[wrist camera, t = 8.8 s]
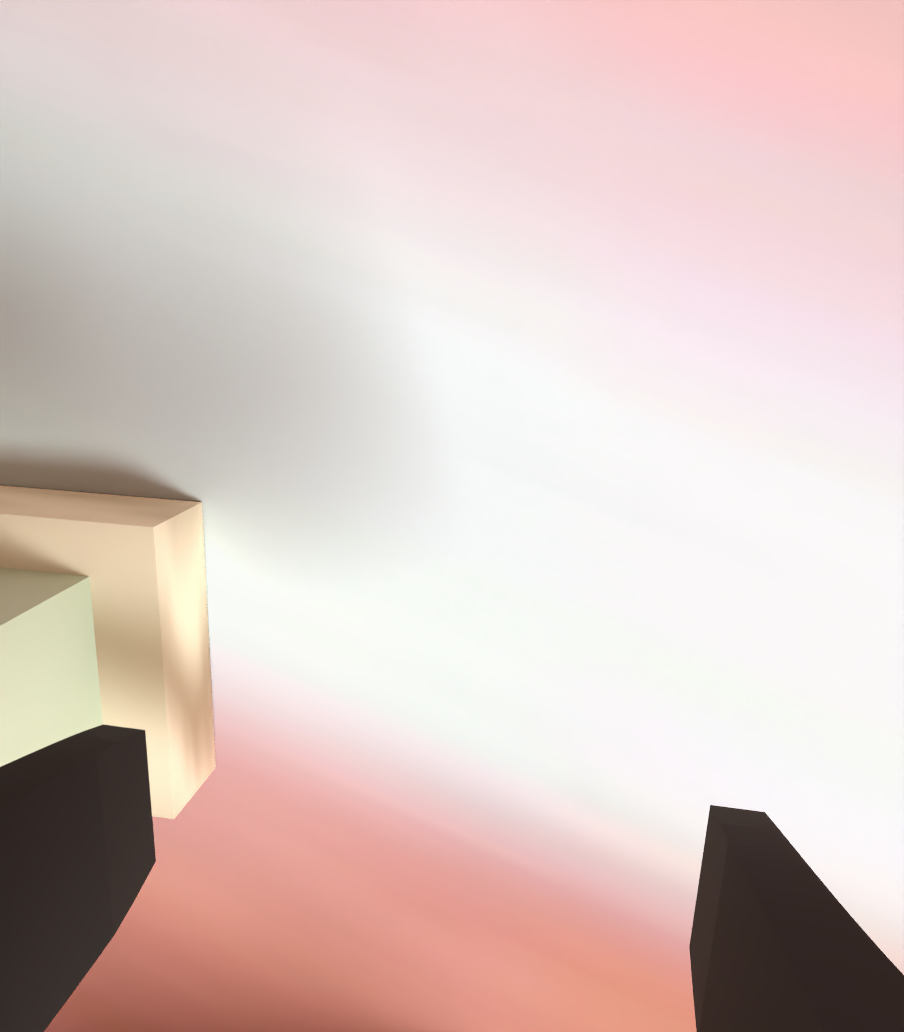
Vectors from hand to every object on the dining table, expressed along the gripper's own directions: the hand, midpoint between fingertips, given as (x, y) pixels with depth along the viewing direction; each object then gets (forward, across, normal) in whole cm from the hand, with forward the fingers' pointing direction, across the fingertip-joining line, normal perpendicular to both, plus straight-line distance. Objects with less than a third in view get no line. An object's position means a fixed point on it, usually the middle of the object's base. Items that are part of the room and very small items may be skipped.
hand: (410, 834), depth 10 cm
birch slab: (+10, +12, +3) cm, 16 cm away
